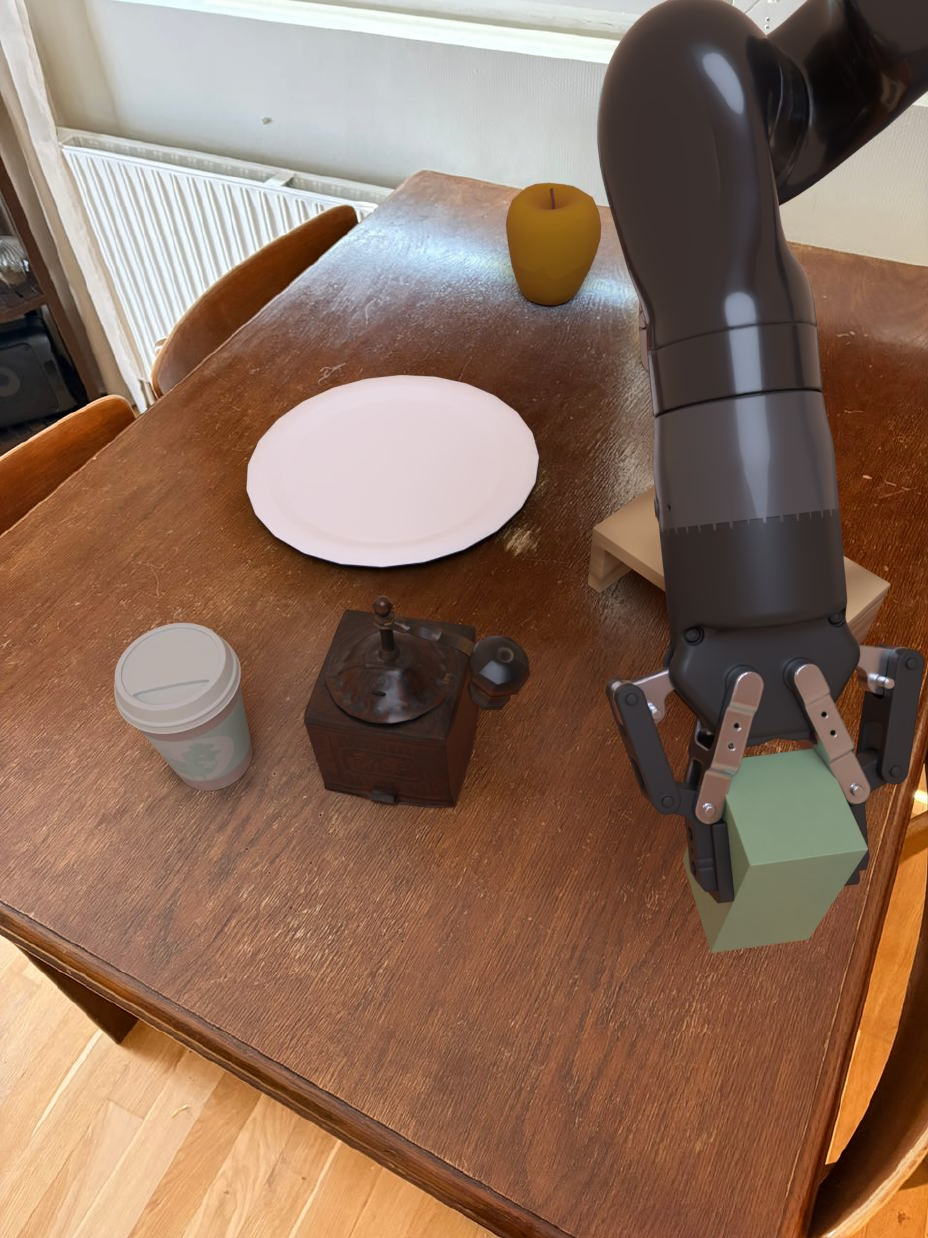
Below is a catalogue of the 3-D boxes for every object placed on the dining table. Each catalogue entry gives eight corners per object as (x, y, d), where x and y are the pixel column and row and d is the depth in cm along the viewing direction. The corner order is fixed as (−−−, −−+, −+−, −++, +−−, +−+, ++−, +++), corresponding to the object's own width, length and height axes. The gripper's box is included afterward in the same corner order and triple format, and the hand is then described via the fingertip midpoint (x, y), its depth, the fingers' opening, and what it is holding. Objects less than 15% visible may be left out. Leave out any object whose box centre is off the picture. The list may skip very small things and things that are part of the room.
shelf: (864, 640, 74) (892, 581, 69) (775, 723, 69) (797, 667, 64) (676, 519, 84) (687, 460, 79) (587, 584, 79) (592, 525, 74)
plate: (578, 539, 83) (579, 526, 82) (265, 607, 79) (261, 594, 78) (494, 366, 102) (493, 352, 100) (237, 414, 98) (233, 401, 97)
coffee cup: (138, 788, 68) (79, 697, 59) (197, 701, 73) (151, 604, 64) (236, 822, 66) (191, 732, 57) (290, 729, 71) (256, 633, 62)
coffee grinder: (317, 797, 67) (266, 648, 53) (357, 679, 74) (322, 520, 60) (523, 831, 64) (525, 684, 51) (545, 706, 71) (552, 546, 57)
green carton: (774, 847, 48) (822, 746, 40) (809, 939, 44) (869, 849, 37) (682, 859, 47) (713, 761, 40) (710, 953, 44) (750, 865, 37)
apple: (607, 280, 113) (616, 175, 103) (576, 324, 106) (582, 217, 97) (526, 265, 116) (527, 162, 106) (492, 307, 110) (489, 201, 100)
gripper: (601, 529, 35) (646, 947, 36) (956, 486, 36) (987, 898, 37) (568, 533, 42) (607, 879, 44) (862, 497, 43) (891, 840, 44)
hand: (781, 886), depth 40 cm, fingers closed on green carton, 5 cm apart
